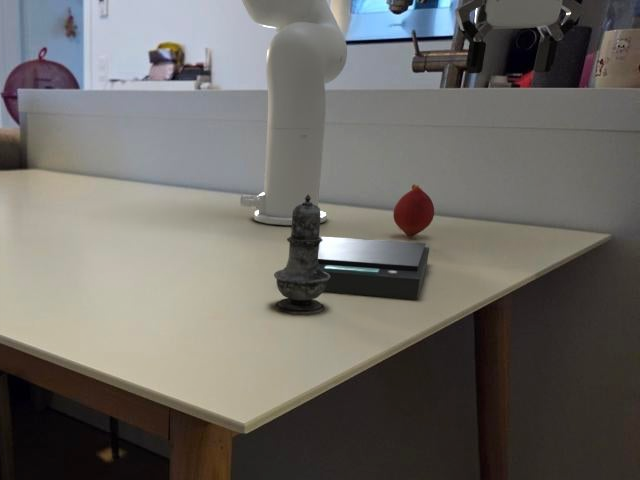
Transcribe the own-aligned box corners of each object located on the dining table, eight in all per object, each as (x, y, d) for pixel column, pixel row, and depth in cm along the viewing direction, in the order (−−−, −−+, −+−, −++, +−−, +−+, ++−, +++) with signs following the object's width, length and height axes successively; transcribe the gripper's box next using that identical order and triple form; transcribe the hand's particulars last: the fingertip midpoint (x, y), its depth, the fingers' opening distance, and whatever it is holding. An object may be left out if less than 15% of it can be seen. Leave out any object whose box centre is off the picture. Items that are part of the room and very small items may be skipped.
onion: (424, 233, 116) (431, 181, 113) (435, 240, 111) (442, 186, 108) (387, 233, 117) (393, 182, 114) (395, 240, 111) (402, 186, 108)
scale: (283, 287, 87) (284, 263, 86) (312, 256, 102) (314, 235, 101) (417, 300, 81) (420, 273, 80) (426, 265, 96) (430, 242, 95)
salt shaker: (265, 300, 81) (272, 191, 77) (317, 299, 82) (326, 189, 77) (280, 316, 76) (288, 199, 72) (335, 314, 76) (346, 197, 72)
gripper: (580, -62, 101) (554, 72, 108) (455, -60, 101) (437, 73, 108) (613, -72, 94) (583, 71, 101) (479, -71, 94) (458, 73, 101)
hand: (507, 72), depth 104 cm, fingers open, 9 cm apart
